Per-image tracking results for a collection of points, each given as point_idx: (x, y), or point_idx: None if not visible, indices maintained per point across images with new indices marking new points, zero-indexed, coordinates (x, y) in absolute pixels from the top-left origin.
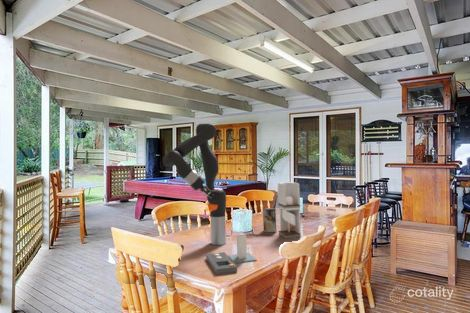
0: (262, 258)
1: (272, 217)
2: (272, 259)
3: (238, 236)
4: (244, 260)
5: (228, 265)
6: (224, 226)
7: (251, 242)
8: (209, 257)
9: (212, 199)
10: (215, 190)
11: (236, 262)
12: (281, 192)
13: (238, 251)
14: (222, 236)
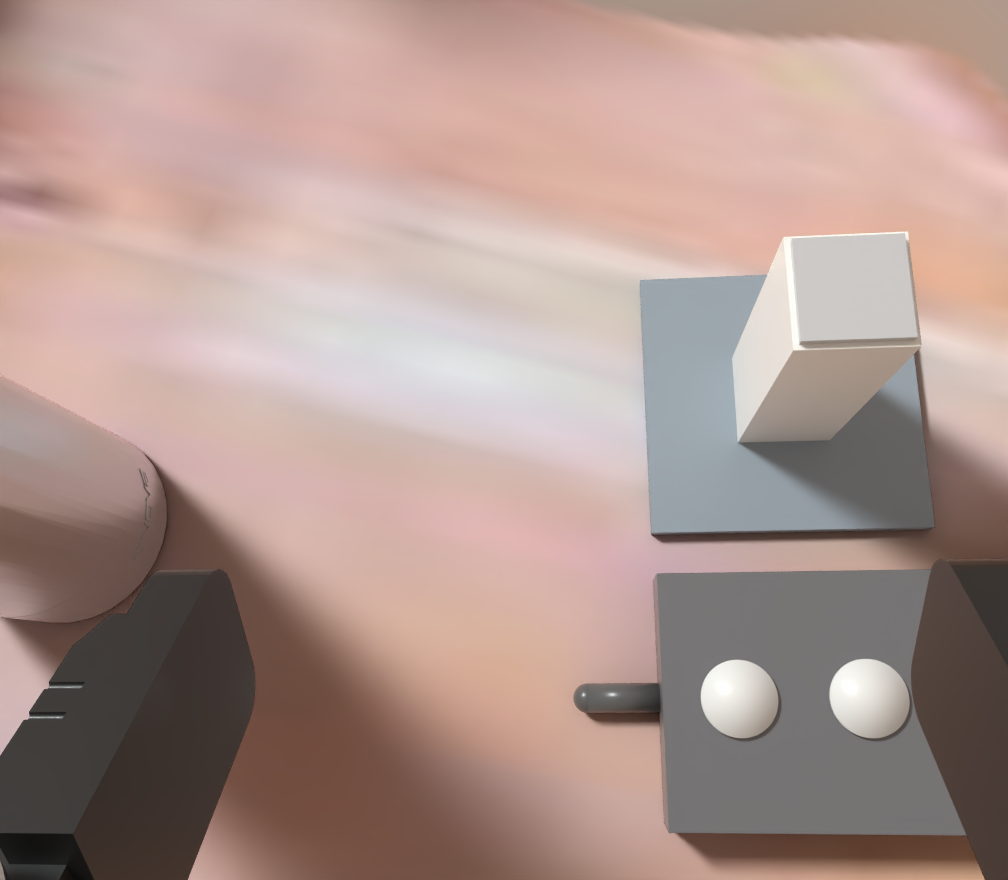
0: (835, 195)
1: None
2: (896, 113)
3: (894, 351)
4: (900, 399)
5: None
6: (8, 385)
7: (212, 145)
8: (825, 818)
9: (245, 693)
10: None
11: (930, 501)
12: None
13: (818, 419)
14: (111, 464)
